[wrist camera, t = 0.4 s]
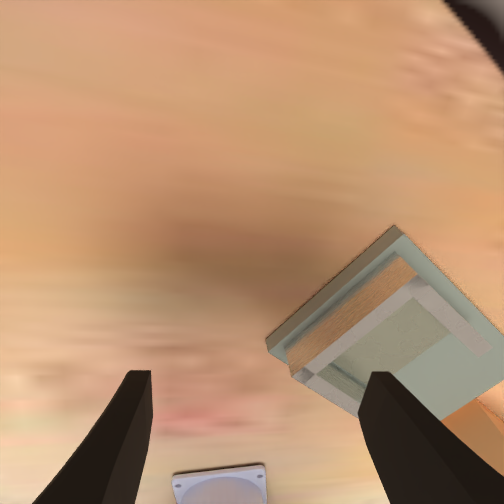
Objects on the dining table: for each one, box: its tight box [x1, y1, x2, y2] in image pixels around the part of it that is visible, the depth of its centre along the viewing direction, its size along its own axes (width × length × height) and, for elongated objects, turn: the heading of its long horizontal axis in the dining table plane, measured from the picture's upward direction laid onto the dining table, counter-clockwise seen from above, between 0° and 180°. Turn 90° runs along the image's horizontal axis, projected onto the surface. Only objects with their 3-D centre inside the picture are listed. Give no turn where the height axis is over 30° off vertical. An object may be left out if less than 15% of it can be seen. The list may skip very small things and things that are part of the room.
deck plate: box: [266, 225, 504, 421], centre depth 24 cm, size 16×11×1 cm
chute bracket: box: [284, 252, 493, 419], centre depth 21 cm, size 8×9×2 cm
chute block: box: [441, 399, 504, 476], centre depth 27 cm, size 6×5×6 cm
